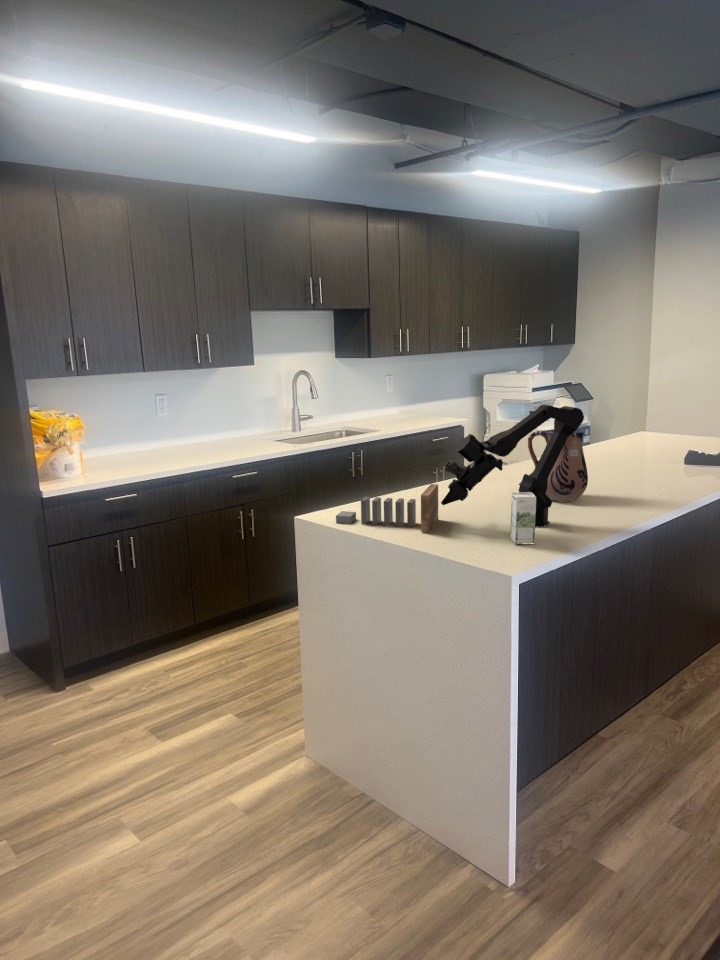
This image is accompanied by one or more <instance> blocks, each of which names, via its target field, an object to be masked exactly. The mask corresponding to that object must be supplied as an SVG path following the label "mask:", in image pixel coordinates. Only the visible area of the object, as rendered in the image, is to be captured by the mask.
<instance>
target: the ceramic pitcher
mask: <svg viewBox="0 0 720 960" xmlns="http://www.w3.org/2000/svg"><path fill="white" fill-rule="evenodd" d="M553 432H554V428H553V429H547V430H541V429H540V430H534V431H532V432H530V434H529V436H528V439H527V448H528V452H529V454H530V455H529V456H530V457H531V460H532V462H533V464H534V468H535V467H536V465H537V463H538V461H539V460H538V458H537V455H536V453H535V451H534V448H533V440H534V438H535V437H537V436H541V437H543V438H544V440H545V442H546V446H547V444H548V442H549V440H550V438H551V436H552V434H553ZM583 437H584V431H581V430H576V431H575V432H574V433H573V434H571V435H570V436H569V437H568V439H567V441H566V443H565V445H564V447H563V449H562V451H561V453H560V455H559V457H558V459H557V461H556V463H555V465H554V467H553V469H552V471H551V473H550V475H549V477H548V488H547V491H546V495H547V496H548V497H549V498H550V499H551V500H552V501H553V500H554V501H553V502H559V501H568V502H573V501H576V500H577V499H579V498H580V497H581V496H582V495H583V494H584V492H585V491H586V489H587V487H588V482H589V476H588V468H587V462H586V459H585V454H584V449H583ZM546 446H545V447H546ZM575 499H576V500H575ZM572 500H573V501H572Z"/></svg>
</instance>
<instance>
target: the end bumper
mask: <svg viewBox="0 0 720 960" xmlns="http://www.w3.org/2000/svg"><path fill="white" fill-rule="evenodd" d="M354 520H355V521H356V520H357V511H345V510H342V511H340V512H339V513H337V514H336V515H335V524H343V523H349V524H348V525H351V524H353V523H354V522H353V521H354Z"/></svg>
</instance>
